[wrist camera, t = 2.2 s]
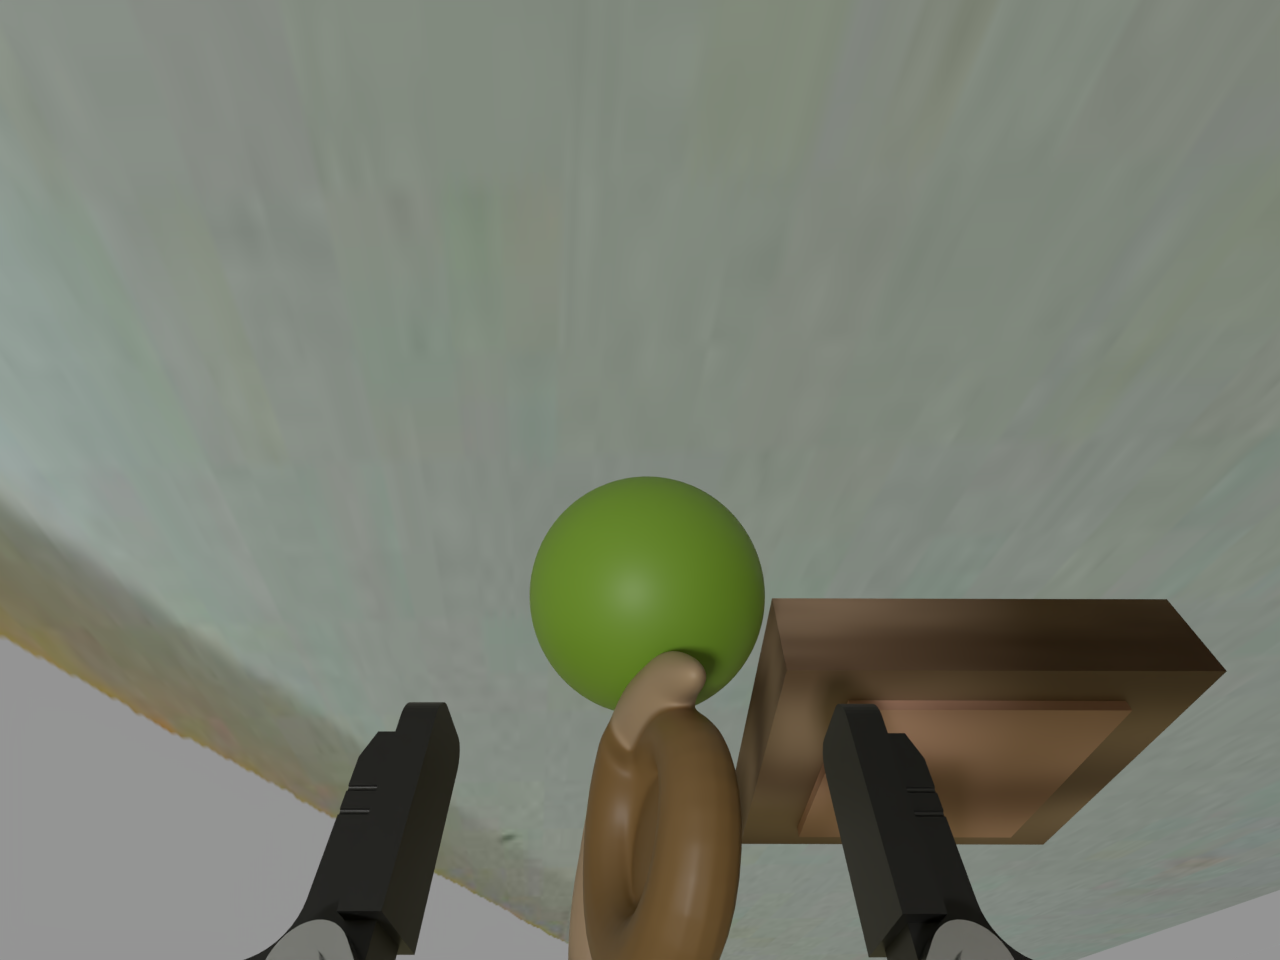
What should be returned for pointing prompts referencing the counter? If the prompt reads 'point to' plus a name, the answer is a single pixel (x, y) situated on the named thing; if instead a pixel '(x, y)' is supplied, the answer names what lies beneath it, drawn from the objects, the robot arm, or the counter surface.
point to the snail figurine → (652, 708)
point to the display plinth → (966, 704)
